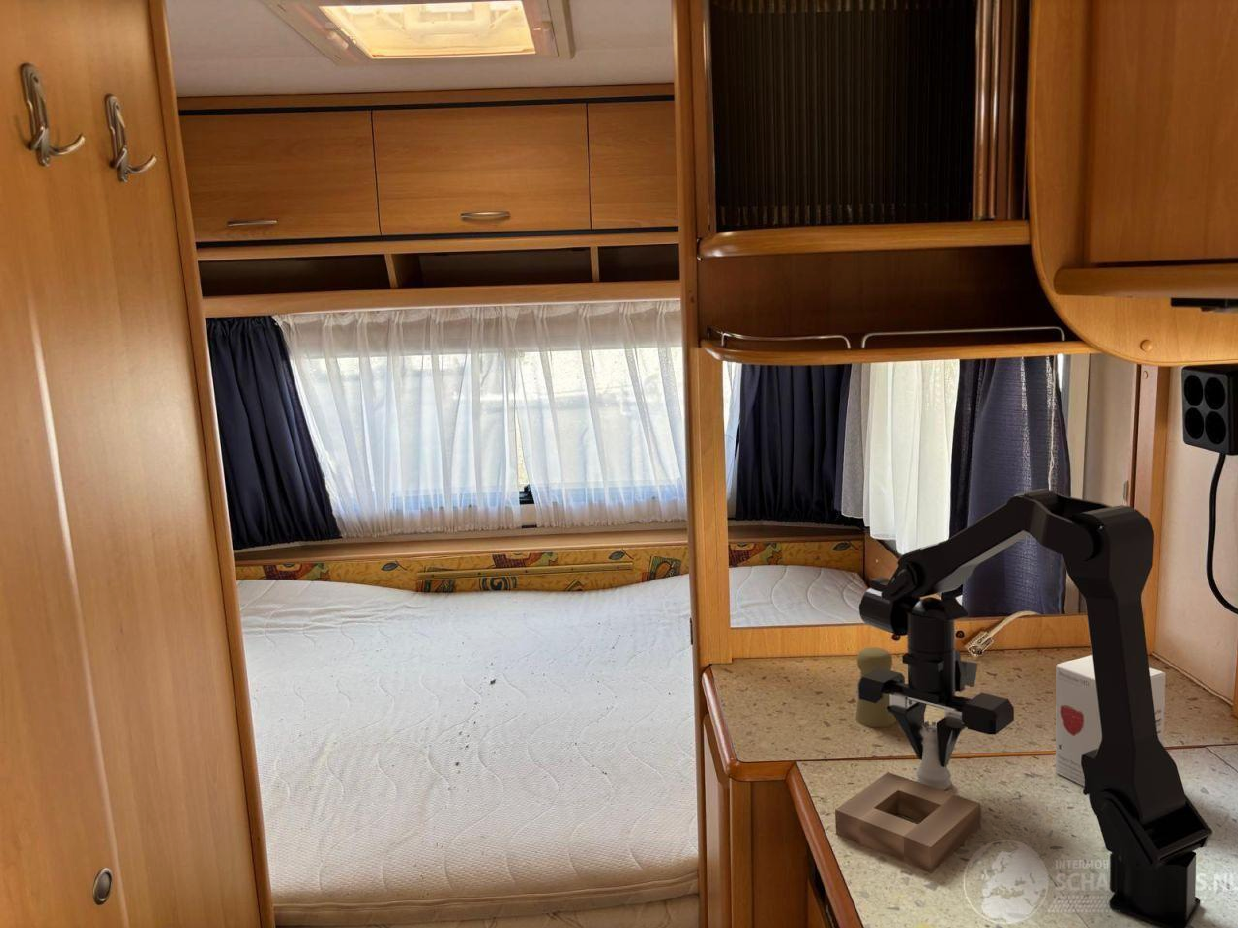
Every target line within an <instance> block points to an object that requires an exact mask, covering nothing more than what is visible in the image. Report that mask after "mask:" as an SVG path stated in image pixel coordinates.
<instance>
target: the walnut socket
mask: <svg viewBox="0 0 1238 928" xmlns="http://www.w3.org/2000/svg"><path fill="white" fill-rule="evenodd" d="M981 808H982V807H981V802H977V801H975V800H971V799H969V798H966V797H963V796H960V795H956V794H954V793H950V792H948V791H946V790H943V791H942V790H939V789H936V788H933V787H931V786H928V785H925V784H922V783H919V782H916V780H912V779H910V778H907V777H904V776H901V775H898V774H895V773H891V772H889V771H888V772H886V773H884V774H883V775H882V776H880V777H878V779H876V780H875V781H873V782H872V783H870V784H869V785H868V786H866V787H865V788H863V789H861V790H860V791H859V792H858V793H856V794H855V795H853V796H852V797H851V798H849V799H847V800H846V801H845V802H844V803H842V804H841V805H839V806H838V807H837V808H835V809H834V817H835V819H834V821H835V822H834V823H835V824H834V825H835V835H838V836H841V837H843V838H846V839H847V840H848V839H849V840H851V841H853V842H855V843H859V844H861V845H863V846H865V847H868V848H870V849H873V850H875V851H878V852H880V853H882V854H884V855H887V856H890V857H892V858H893V859H897V860H900V861H901V862H904V863H907V864H909V865H911V866H914V867H916V868H919V869H921V870H923V871H926V872H929V873H933V872H934V871H935V870H936V869H937V868H939V866H940V865H942V864H943V863H944V862H945V861H946V860H947V859H948V858H949V857H950V856H952V854H954V853H955V852H956V851H957V850H958V849H959V848H961V846H963V844H965V843H966V841H968V840H969V839H970V838H971V837H972V836H973V835H974V834H976V833H977V832H978V830H980V829H981V828H982V818H981V817H982V815H981V812H982V809H981ZM897 814H901V815H902V816H905V817H908V818H912V819H914V820H916V821H919V823H918V824H917V823H914V822H911V821H909V820H907V819H903V818H902V817H899V816H896V815H897Z"/></svg>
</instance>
